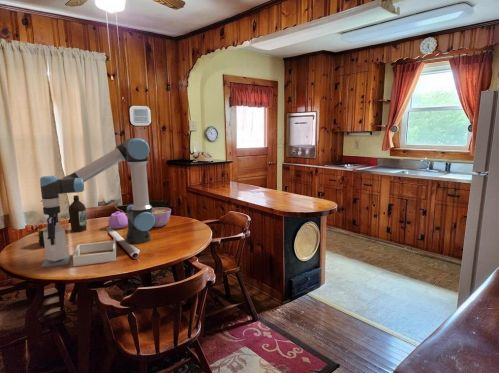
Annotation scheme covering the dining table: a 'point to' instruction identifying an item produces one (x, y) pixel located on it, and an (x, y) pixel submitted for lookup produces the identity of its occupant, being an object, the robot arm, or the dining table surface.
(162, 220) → the bowl of food
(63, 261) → the slate tile
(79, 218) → the olive oil
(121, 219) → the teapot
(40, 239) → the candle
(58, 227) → the milk carton
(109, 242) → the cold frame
